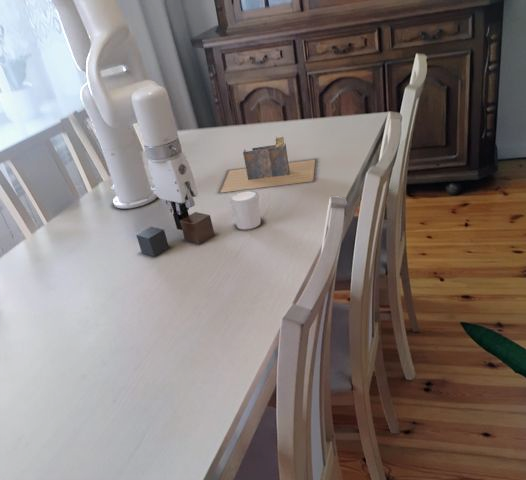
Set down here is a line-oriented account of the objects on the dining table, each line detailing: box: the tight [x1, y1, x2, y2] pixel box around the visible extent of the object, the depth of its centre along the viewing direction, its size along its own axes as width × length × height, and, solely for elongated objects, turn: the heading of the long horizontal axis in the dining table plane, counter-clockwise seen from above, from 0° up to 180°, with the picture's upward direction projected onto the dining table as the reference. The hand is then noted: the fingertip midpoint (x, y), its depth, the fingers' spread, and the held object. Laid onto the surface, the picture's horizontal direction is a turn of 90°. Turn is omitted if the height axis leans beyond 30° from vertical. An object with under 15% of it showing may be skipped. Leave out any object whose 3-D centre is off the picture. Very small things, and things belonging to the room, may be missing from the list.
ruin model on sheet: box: [220, 135, 316, 193], centre depth 154 cm, size 25×16×10 cm, turn 84°
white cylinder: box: [228, 189, 262, 231], centre depth 131 cm, size 7×7×7 cm
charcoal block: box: [135, 226, 170, 258], centre depth 129 cm, size 5×5×5 cm
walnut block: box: [180, 211, 216, 245], centre depth 130 cm, size 5×5×5 cm
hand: (184, 227), depth 134 cm, fingers closed
